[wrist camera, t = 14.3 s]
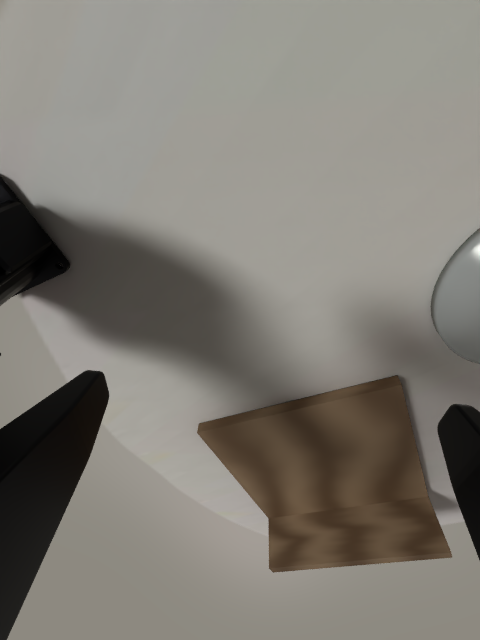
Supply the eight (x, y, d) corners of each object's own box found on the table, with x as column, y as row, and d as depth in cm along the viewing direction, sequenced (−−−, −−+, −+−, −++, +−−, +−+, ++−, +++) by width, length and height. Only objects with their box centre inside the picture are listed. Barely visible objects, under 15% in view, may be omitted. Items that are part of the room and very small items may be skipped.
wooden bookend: (272, 513, 40) (273, 572, 35) (199, 423, 30) (186, 486, 25) (425, 492, 35) (452, 557, 30) (397, 375, 25) (429, 443, 20)
